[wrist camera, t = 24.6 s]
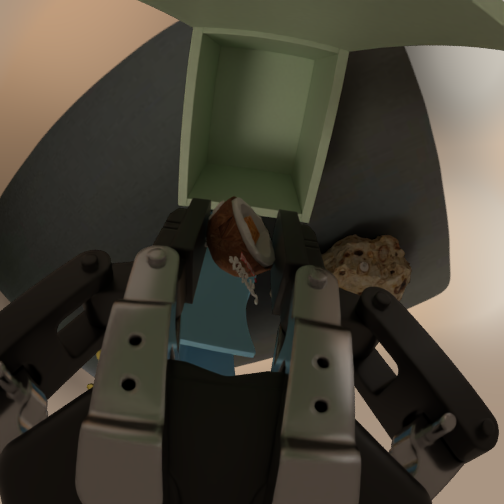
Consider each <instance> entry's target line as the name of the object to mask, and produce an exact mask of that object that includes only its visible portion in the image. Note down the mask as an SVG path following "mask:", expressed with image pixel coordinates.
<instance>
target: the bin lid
mask: <svg viewBox="0 0 504 504" xmlns="http://www.w3.org/2000/svg"><path fill="white" fill-rule="evenodd" d="M139 1H141V2H143V3H145V4H148V5H150V6H152V7H154V8H156V9H158V10H160V11H162V12H165V13H166V14H168V15H170V16H173V17H174V18H176V19H178V20H180V21H182V22H184V23H186V24H187V25H189V26H191V27H207V28H227V29H239V30H249V31H257V32H265V33H272V34H278V35H284V36H289V37H294V38H299V39H304V40H309V41H313V42H317V43H321V44H325V45H329V46H333V47H336V48H340V49H343V50H347V51H350V52H352V51H359V50H366V49H375V48H385V47H398V46H417V45H447V46H448V45H449V46H468V47H479V48H488V49H496V50H503V51H504V2H503V1H502V0H139Z"/></svg>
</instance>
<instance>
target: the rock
mask: <svg viewBox="0 0 504 504" xmlns="http://www.w3.org/2000/svg"><path fill="white" fill-rule="evenodd" d="M321 255H322V259H323V262H324V266H325V269H327V270H328V271H330V272H331V273H332V274H333V275H334V276H335V277H336V278H337V281H338V286H339V287H340V288H342V289H344V290H346V291H349V292H352V293H355V294H358V295H361V294H362V292H363V290H364V289H366V288H368V287H380V288H383V289H385V290H387V291H388V292H390V293H391V294H392V295H393V296H394V297H395V298H396V299H397V300H398V301H400V300H401V299H402V294H403V293H404V290H405V288H406V286H407V284H408V283H409V282H410V275H411V271H412V270H411V267H410V266H409V264H410V263H408V262H407V261H406V259H405V257H404V255H405V253H404V251H403V250H402V249H401V248H400V246H399V242H398V240H397V239H396V238H394V237H392V236H391V235H384V236H383V235H381V236H377V238H376V239H373V240H370V239H368V238H361V237H359V236H357V235H356V234H355V235H353V236H351V235H350V236H347V237H345V238H344V239H341V240H339V241H338V242H336V243H335V244H334V245H333V246H332V248H329V249H328V251H327V252H326V253H324V254H321ZM270 296H271V291H270ZM271 298H272V297H271Z"/></svg>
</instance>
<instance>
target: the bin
mask: <svg viewBox="0 0 504 504" xmlns="http://www.w3.org/2000/svg"><path fill="white" fill-rule="evenodd" d="M348 56H349V51H347V50H343V49H340V48H336V47H333V46H329V45H325V44H321V43H317V42H313V41H309V40H304V39H299V38H294V37H289V36H284V35H278V34H272V33H265V32H257V31H249V30H239V29H227V28H207V27H193V33H192V40H191V47H190V54H189V61H188V69H187V78H186V86H185V96H184V107H183V118H182V131H181V146H180V165H179V191H178V205H181V206H189V205H190V203H191V201H192V199H193V198H200V199H209V200H211V209H215V208H216V206H217V205H218V204H220V202H221V201H223V200H224V202H225V201H227V200H228V199H230V198H231V197H233V196H235V197H239V198H241V199H243V201H245V202H246V203H247V204H248V205H249V206H250V207H251V208H252V209H253V210H254V211H255V213H256V214H257V215H259V216H266V217H273V218H277V214H278V211H279V209H282V210H288V211H295V212H297V213H298V217H299V221H300V222H305V223H309V220H310V217H311V213H312V209H313V206H314V202H315V198H316V195H317V191H318V187H319V183H320V179H321V176H322V172H323V168H324V164H325V160H326V156H327V152H328V148H329V143H330V139H331V135H332V131H333V126H334V122H335V118H336V113H337V109H338V104H339V100H340V95H341V90H342V86H343V81H344V76H345V71H346V66H347V61H348Z"/></svg>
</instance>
